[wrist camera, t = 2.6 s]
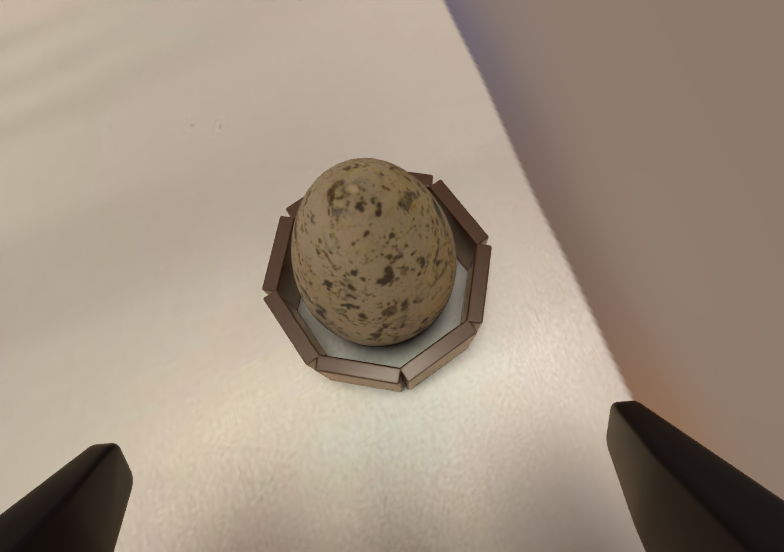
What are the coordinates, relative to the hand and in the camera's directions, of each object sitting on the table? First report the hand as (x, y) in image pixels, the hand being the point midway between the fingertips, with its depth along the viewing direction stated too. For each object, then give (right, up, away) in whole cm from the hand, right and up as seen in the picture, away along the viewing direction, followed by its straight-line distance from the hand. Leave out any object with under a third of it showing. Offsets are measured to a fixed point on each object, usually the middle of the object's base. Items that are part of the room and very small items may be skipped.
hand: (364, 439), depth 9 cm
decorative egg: (0, +2, +14) cm, 14 cm away
